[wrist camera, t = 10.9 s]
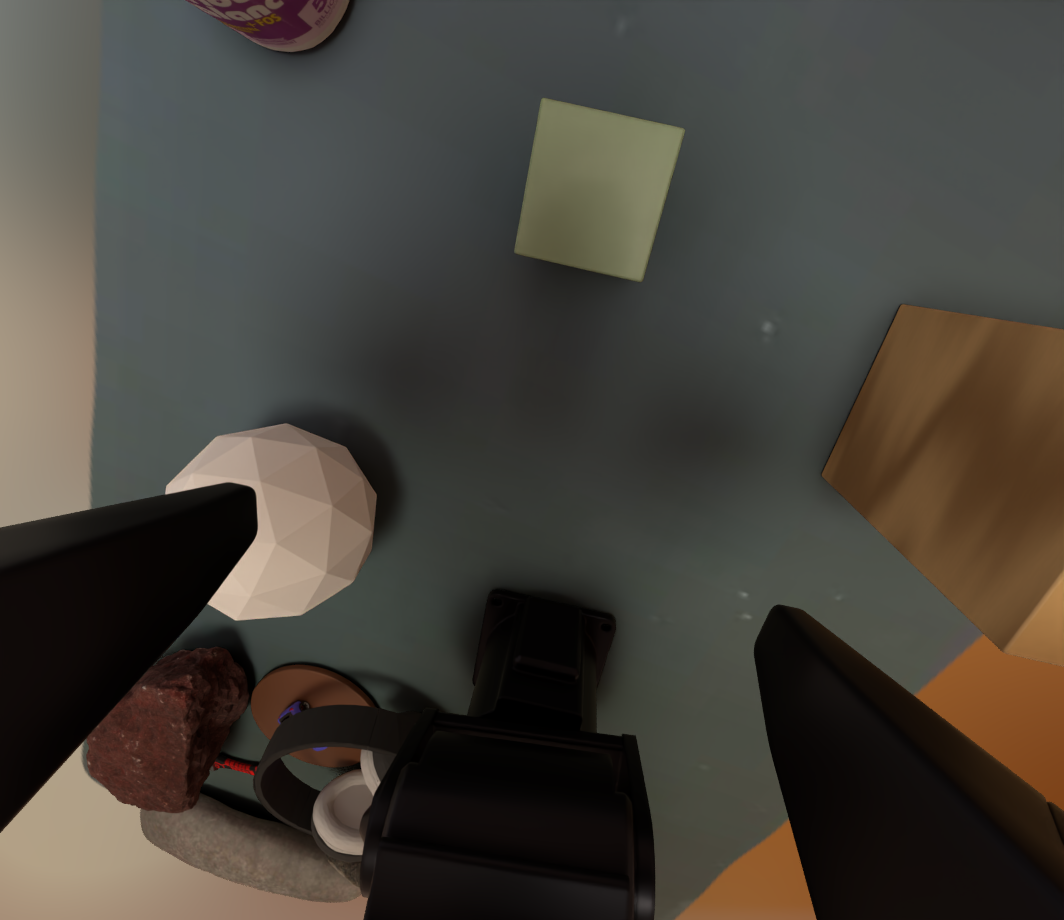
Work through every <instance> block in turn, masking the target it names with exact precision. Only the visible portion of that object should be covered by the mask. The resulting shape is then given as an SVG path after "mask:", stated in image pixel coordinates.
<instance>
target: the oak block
mask: <svg viewBox="0 0 1064 920" xmlns="http://www.w3.org/2000/svg"><path fill="white" fill-rule="evenodd" d="M822 477H823V478H824V479H825V480H826V481H827V482H828V483H829V484H830V485H831V486H832V487H833V488H834V489H835V490H837V491H838V492H839V493H840V494H841V495H842V496H843V497H844V498H845V499H846V500H847V501H848V502H849V503H850V504H851V505H852V506H853V507H854V508H855V509H856V510H857V511H858V512H859V513H860V514H861V515H862V516H863V517H864V518H865V519H866V520H867V521H868V522H869V523H870V524H871V525H872V526H873V527H875V528H876V529H877V530H878V531H879V532H880V533H881V534H882V535H883V536H884V537H885V538H886V539H887V540H888V541H889V542H890V543H891V544H892V545H893V546H894V547H895V548H896V549H897V550H898V551H899V552H900V553H901V554H902V555H903V556H904V557H905V558H906V559H907V560H908V561H909V562H910V563H912V564H913V565H914V566H915V567H916V568H917V569H918V570H919V571H920V572H921V573H922V574H923V575H924V576H925V577H926V578H927V579H928V580H929V581H930V582H931V583H932V584H933V585H934V586H935V587H936V588H937V589H938V590H939V591H940V592H941V593H942V594H943V595H944V596H945V597H946V598H947V599H949V600H950V601H951V602H952V603H953V604H954V605H955V606H956V607H957V608H958V609H959V610H960V611H961V612H962V613H963V614H964V615H965V616H966V617H967V618H968V619H969V620H970V621H971V622H972V623H973V624H974V625H975V626H976V627H977V628H978V629H979V630H980V631H981V632H982V633H983V634H984V635H985V636H987V637H988V638H989V639H990V640H991V641H992V642H993V643H994V644H995V645H996V646H997V647H998V648H999V649H1000V650H1001V651H1002V652H1004V653H1006V654H1010V655H1015V656H1019V657H1023V658H1028V659H1032V660H1037V661H1041V662H1046V663H1050V664H1055V665H1060V666H1064V329H1058V328H1051V327H1045V326H1039V325H1032V324H1026V323H1020V322H1013V321H1007V320H1001V319H994V318H988V317H982V316H975V315H969V314H962V313H956V312H950V311H943V310H937V309H931V308H924V307H918V306H912V305H905V304H902V305H901V306H900V308H899V310H898V312H897V314H896V317H895V319H894V321H893V323H892V325H891V327H890V329H889V331H888V334H887V336H886V338H885V340H884V342H883V344H882V346H881V349H880V351H879V353H878V355H877V357H876V359H875V361H874V364H873V366H872V368H871V370H870V372H869V374H868V376H867V378H866V381H865V383H864V385H863V387H862V389H861V391H860V393H859V396H858V398H857V400H856V402H855V404H854V406H853V408H852V410H851V413H850V415H849V417H848V419H847V421H846V423H845V425H844V428H843V430H842V432H841V434H840V436H839V438H838V440H837V443H836V445H835V447H834V449H833V451H832V453H831V455H830V457H829V460H828V462H827V464H826V466H825V468H824V470H823V472H822Z"/></svg>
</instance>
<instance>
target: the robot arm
mask: <svg viewBox="0 0 1064 920" xmlns="http://www.w3.org/2000/svg"><path fill="white" fill-rule="evenodd" d="M257 531H258V517H257V498H256V493H255V490H254V489H253V488H252V487H250V486H246V485H242V484H237V483H233V482H225V483H220V484H215V485H210V486H205V487H200V488H195V489H190V490H185V491H180V492H175V493H170V494H165V495H160V496H155V497H150V498H145V499H140V500H135V501H130V502H125V503H120V504H115V505H110V506H105V507H100V508H95V509H90V510H85V511H80V512H75V513H71V514H66V515H61V516H55V517H51V518H46V519H41V520H36V521H31V522H26V523H21V524H16V525H11V526H6V527H1V528H0V833H1V832H2V831H3V829H4V828H5V827H6V826H7V825H8V824H9V823H10V822H11V821H12V820H13V818H14V817H15V816H16V815H17V814H18V813H19V812H20V811H21V810H22V809H23V807H24V806H25V805H26V804H27V803H28V802H29V801H30V800H31V799H32V797H33V796H34V795H35V794H36V793H37V792H38V791H39V790H40V789H41V788H42V786H43V785H44V784H45V783H46V782H47V781H48V780H49V779H50V778H51V777H52V776H53V774H54V773H55V772H56V771H57V770H58V769H59V768H60V767H61V766H62V765H63V763H64V762H65V761H66V760H67V759H68V758H69V757H70V756H71V755H72V754H73V752H74V751H75V750H76V749H77V748H78V747H79V746H80V745H81V744H82V743H83V741H84V740H85V739H86V738H87V737H88V736H89V735H90V734H91V733H92V732H93V730H94V729H95V728H96V727H97V726H98V725H99V724H100V723H101V722H102V721H103V719H104V718H105V717H106V716H107V715H108V714H109V713H110V712H111V711H112V710H113V708H114V707H115V706H116V705H117V704H118V703H119V702H120V701H121V700H122V699H123V697H124V696H125V695H126V694H127V693H128V692H129V691H130V690H131V689H132V688H133V686H134V685H135V684H136V683H137V682H138V681H139V680H140V679H141V678H142V677H143V675H144V674H145V673H146V672H147V671H148V670H149V669H150V668H151V667H152V666H153V664H154V663H155V662H156V661H157V660H158V659H159V658H160V657H161V656H162V655H163V653H164V652H165V651H166V650H167V649H168V648H169V647H170V646H171V645H172V644H173V642H174V641H175V640H176V639H177V638H178V637H179V636H180V635H181V634H182V633H183V631H184V630H185V629H186V628H187V627H188V626H189V625H190V624H191V623H192V621H193V620H194V619H195V618H196V617H197V616H198V615H199V613H200V612H201V611H202V610H203V608H204V607H205V606H206V605H207V603H208V602H209V601H210V600H211V598H212V597H213V595H214V594H215V593H216V591H217V590H218V589H219V587H220V586H221V585H222V583H223V582H224V581H225V579H226V578H227V577H228V575H229V574H230V573H231V571H232V570H233V569H234V567H235V566H236V565H237V563H238V562H239V560H240V559H241V558H242V556H243V555H244V554H245V552H246V551H247V550H248V548H249V547H250V546H251V544H252V543H253V541H254V540H255V538H256V535H257ZM495 598H498V599H500V600H501V601H496V600H494V599H495ZM604 623H607V624H610V625H608V626H604V625H602V624H604ZM615 631H616V620H615V618H614V617H613V616H612V615H609V614H605V613H601V612H597V611H592V610H588V609H583V608H579V607H575V606H570V605H566V604H561V603H557V602H553V601H548V600H544V599H539V598H535V597H531V596H526V595H522V594H518V593H513V592H509V591H504V590H500V589H495V590H492V591H491V592H490V593H489V596H488V599H487V603H486V609H485V614H484V620H483V625H482V631H481V636H480V642H479V647H478V653H477V658H476V664H475V669H474V675H473V684H474V686H475V688H474V692H473V696H472V699H471V703H470V706H469V710H468V713H467V716H466V715H459V714H451V713H444V712H439V709H433V708H425V709H424V711H423V713H422V714H421V716H420V718H419V720H418V721H417V723H415V724H414V725H413V727H412V729H411V731H410V732H409V734H408V736H407V738H406V739H405V741H404V743H403V744H402V746H401V748H400V750H399V751H398V753H397V755H396V757H395V758H394V760H393V762H392V763H391V765H390V767H389V769H388V770H387V772H386V774H385V776H384V777H383V779H382V781H381V783H380V784H379V786H378V788H377V789H376V791H375V793H374V796H373V799H372V804H371V805H370V806H369V808H368V809H367V810H366V811H365V812H364V814H363V816H362V819H361V822H360V827H359V833H360V835H361V838H362V840H363V843H364V847H363V853H362V859H361V867H360V891H361V893H362V896H363V897H367V898H368V901H367V906H366V910H365V915H364V920H654V910H655V854H654V838H653V828H652V820H651V814H650V808H649V803H648V797H647V792H646V787H645V782H644V776H643V771H642V766H641V760H640V755H639V750H638V745H637V739H636V736H635V735H628V734H622V736H615V735H608V734H600V733H597V699H596V689H597V686H598V683H599V680H600V677H601V674H602V671H603V668H604V665H605V662H606V659H607V656H608V652H609V649H610V646H611V643H612V640H613V637H614V634H615ZM754 658H755V665H756V671H757V677H758V683H759V689H760V695H761V701H762V707H763V713H764V719H765V725H766V731H767V736H768V741H769V746H770V750H771V754H772V758H773V762H774V766H775V769H776V773H777V777H778V780H779V784H780V788H781V791H782V795H783V799H784V802H785V806H786V810H787V813H788V817H789V820H790V824H791V828H792V831H793V835H794V839H795V842H796V846H797V850H798V853H799V857H800V860H801V864H802V868H803V871H804V875H805V879H806V882H807V886H808V890H809V893H810V897H811V901H812V904H813V908H814V912H815V915H816V919H817V920H1064V811H1063V810H1062V809H1060V808H1059V807H1058V806H1056V805H1055V804H1054V803H1052V802H1046V799H1045V797H1044V796H1043V795H1042V794H1041V793H1039V792H1038V791H1037V790H1035V789H1034V788H1033V787H1031V786H1030V785H1029V784H1028V783H1026V782H1025V781H1024V780H1023V779H1021V778H1020V777H1019V776H1017V775H1016V774H1015V773H1013V772H1012V771H1011V770H1010V769H1008V768H1007V767H1006V766H1004V765H1003V764H1002V763H1000V762H999V761H998V760H996V759H995V758H994V757H993V756H991V755H990V754H989V753H987V752H986V751H985V750H984V749H982V748H981V747H980V746H978V745H977V744H976V743H975V742H973V741H972V740H971V739H969V738H968V737H967V736H965V735H964V734H963V733H962V732H960V731H959V730H958V729H956V728H955V727H954V726H952V725H951V724H950V723H949V722H947V721H946V720H945V719H943V718H942V717H941V716H940V715H938V714H937V713H936V712H934V711H933V710H932V709H930V708H929V707H928V706H926V705H925V704H924V703H923V702H921V701H920V700H919V699H918V698H916V697H915V696H914V695H912V694H911V693H910V692H908V691H907V690H906V689H905V688H903V687H902V686H901V685H899V684H898V683H897V682H895V681H894V680H893V679H892V678H890V677H889V676H888V675H886V674H885V673H884V672H883V671H881V670H880V669H879V668H877V667H876V666H875V665H873V664H872V663H871V662H870V661H868V660H867V659H866V658H864V657H863V656H862V655H861V654H859V653H858V652H857V651H855V650H854V649H853V648H851V647H850V646H849V645H848V644H846V643H845V642H844V641H842V640H841V639H840V638H838V637H837V636H836V635H835V634H833V633H832V632H831V631H829V630H828V629H827V628H826V627H824V626H823V625H822V624H820V623H819V622H818V621H816V620H815V619H814V618H813V617H811V616H810V615H809V614H807V613H806V612H805V611H803V610H801V609H798V608H794V607H789V606H785V605H776V606H774V607H773V608H772V609H771V610H770V612H769V614H768V616H767V618H766V620H765V622H764V624H763V626H762V629H761V631H760V633H759V635H758V637H757V639H756V642H755V645H754Z"/></svg>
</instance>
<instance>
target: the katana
mask: <svg viewBox="0 0 1064 920" xmlns="http://www.w3.org/2000/svg"><path fill="white" fill-rule="evenodd" d="M257 767H258V766H257V765H250V764H246V763H242V762H238V761H235V760H232V759H229V758H227V757H225V756H223V755H219V754H218V756H217V758H216V760H215V763H214V764H213V765H212V766H211V768H210V771H215V770H218V768H229V769H233V770H237V771H241V772H245V773H248V774H251V775H255V771H256V769H257Z"/></svg>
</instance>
